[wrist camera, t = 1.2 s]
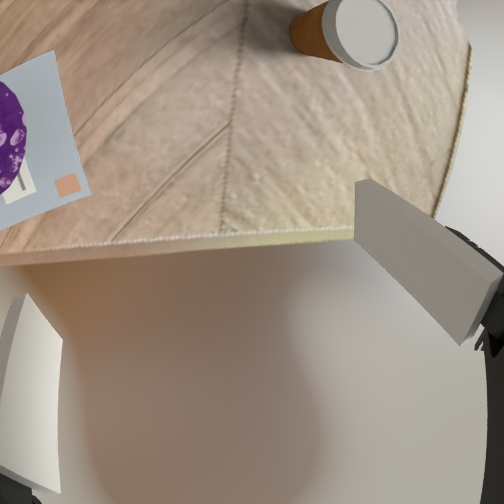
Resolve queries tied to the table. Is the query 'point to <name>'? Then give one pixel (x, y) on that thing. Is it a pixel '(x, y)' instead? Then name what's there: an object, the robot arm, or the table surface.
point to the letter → (42, 145)
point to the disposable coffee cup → (349, 33)
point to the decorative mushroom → (10, 137)
